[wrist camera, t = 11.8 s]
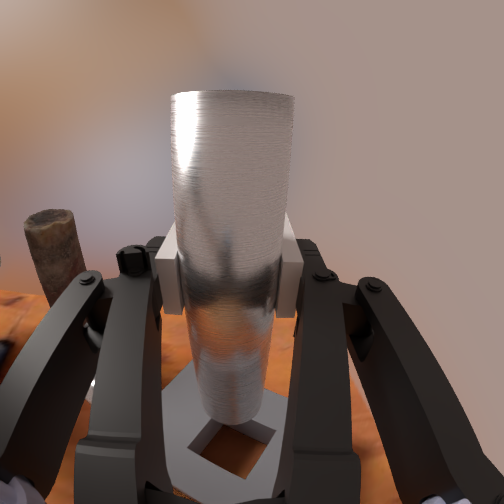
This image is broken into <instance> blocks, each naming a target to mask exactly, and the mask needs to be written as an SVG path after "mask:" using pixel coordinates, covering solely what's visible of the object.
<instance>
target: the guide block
mask: <svg viewBox="0 0 504 504" xmlns="http://www.w3.org/2000/svg"><path fill="white" fill-rule="evenodd" d="M287 404H288V398H287V397H284V396H282V395H279V394H277V393H274V392H272V391H270V390H267V389H265V388H264V392H263V399H262V405H261V408H260V410H259V412H258V413H257V415H256V416H255V417H254V418H252V419H251V420H249V421H247V422H245V423H242V424H238V425H227V426H229V427H230V428H232V429H234V430H236V431H238V432H240V433H242V434H245V435H247V436H249V437H251V438H253V439H255V440H257V441H260V442H262V443H264V444H266V445H267V447H266V449H265V450H264V452H263V453H262V455H261V457H260V458H259V460H258V461H257V463H256V464H255V466H254V467H253V469H252V470H251V472H250V473H249V475H248V476H247V478H246V479H243V478H240V477H238V476H236V475H234V474H232V473H230V472H228V471H226V470H224V469H223V468H221V467H219V466H217V465H215V464H213V463H211V462H210V461H208V460H206V459H204V458H203V457H201V456H199V455H200V454H201V452H202V451H203V450H204V449H205V447H206V446H207V445H208V444H209V442H210V441H211V440H212V438H213V437H214V436H215V435H216V433H217V432H218V431H219V429H220V428H221V427H222V426H223V424H222V423H219V422H217V421H215V420H213V419H212V418H210V417H209V416H208V415H207V414H206V412H205V411H204V409H203V407H202V403H201V398H200V394H199V389H198V384H197V379H196V374H195V368H194V363H193V359H192V360H191V362H190V363H189V364H188V365H187V366H186V367H185V368H184V369H183V370H182V371H181V372H180V373H179V374H178V375H177V376H176V377H175V378H174V379H173V380H172V381H171V382H170V383H169V384H168V385H167V386H166V387H165V388H164V389H163V390H162V415H163V431H164V444H165V456H166V465H167V470H168V474H169V477H170V479H171V483H172V487H174V488H175V489H177V490H178V491H180V492H181V493H183V494H185V495H186V496H188V497H189V498H191V499H193V500H195V501H196V502H198V503H200V504H236V503H242V502H246V501H251V500H255V499H265V498H271V497H272V492H273V488H274V484H275V480H276V477H277V472H278V466H279V460H280V454H281V448H282V441H283V434H284V427H285V420H286V412H287ZM225 425H226V424H225Z"/></svg>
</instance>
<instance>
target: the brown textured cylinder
mask: <svg viewBox="0 0 504 504" xmlns="http://www.w3.org/2000/svg"><path fill="white" fill-rule="evenodd" d="M24 231H25V236H26V239H27V242H28V246H29V249H30V253H31V256H32V259H33V261H34V265H35V268H36V271H37V274H38V277H39V280H40V283H41V284H42V288H43V290H44V293H45V295H46V298H47V300H48V303H49V306H50V308H51V307H52V306H53V305H54V303H55V302H56V301H57V299H58V298H59V297H60V296H61V294H62V293H63V292H64V290H65V289H66V288H67V287H68V286H69V284H70V283H71V282H72V281H73V279H74V278H75V277H76V276H78V275H79V274H81V273H82V272H85V271H87V270H86V267H85V263H84V259H83V255H82V251H81V247H80V243H79V240H78V235H77V231H76V225H75V221H74V216H73V213H72V212H71V211H70V210H64V209H58V210H56V209H48V210H43V211H41V212H38V213H36V214H33V215H31V216H29V218H28V219H27V220H26V221H25V222H24ZM86 322H87V321H86V319H85V320H84V323H83V326H84V325H85V324H86Z"/></svg>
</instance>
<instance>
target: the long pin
mask: <svg viewBox="0 0 504 504" xmlns="http://www.w3.org/2000/svg"><path fill="white" fill-rule="evenodd" d="M293 113H294V97H293V96H289V95H284V94H277V93H269V92H258V91H241V90H240V91H239V90H214V91H213V90H212V91H196V92H186V93H178V94H174V95H171V153H172V180H173V198H174V213H175V226H176V238H177V248H178V258H179V268H180V276H181V285H182V292H183V300H184V307H185V314H186V321H187V328H188V334H189V340H190V346H191V352H192V357H193V363H194V368H195V374H196V379H197V384H198V389H199V394H200V398H201V403H202V407H203V409H204V411H205V412H206V414H207V415H208V416H209V417H210V418H212V419H213V420H215V421H217V422H219V423H222V424H226V425H238V424H242V423H245V422H247V421H249V420H251V419H252V418H254V417H255V416H256V415H257V413H258V412H259V410H260V408H261V405H262V399H263V392H264V385H265V379H266V372H267V365H268V358H269V350H270V343H271V335H272V328H273V320H274V312H275V303H276V295H277V287H278V278H279V269H280V260H281V252H282V242H283V233H284V223H285V212H286V202H287V190H288V180H289V179H288V178H289V167H290V155H291V142H292V141H291V140H292V129H293Z"/></svg>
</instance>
